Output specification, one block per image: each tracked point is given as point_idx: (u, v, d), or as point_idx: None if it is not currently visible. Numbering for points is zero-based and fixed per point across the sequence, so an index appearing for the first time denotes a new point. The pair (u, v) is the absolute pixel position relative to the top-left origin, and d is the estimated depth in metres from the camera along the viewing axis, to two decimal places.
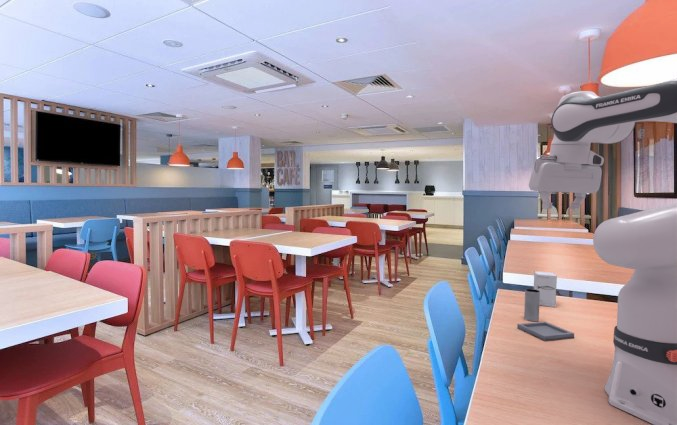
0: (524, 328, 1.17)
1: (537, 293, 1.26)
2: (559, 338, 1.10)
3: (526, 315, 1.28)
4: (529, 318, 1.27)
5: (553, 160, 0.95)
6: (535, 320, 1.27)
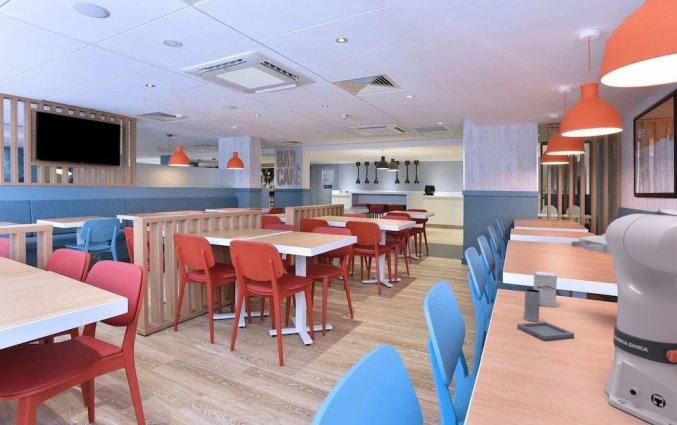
0: (524, 328, 1.17)
1: (537, 293, 1.26)
2: (559, 338, 1.10)
3: (526, 315, 1.28)
4: (529, 318, 1.27)
5: None
6: (535, 320, 1.27)
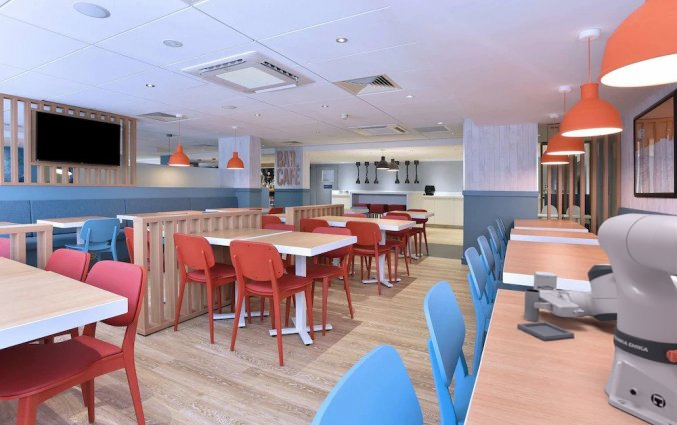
0: (524, 328, 1.17)
1: (537, 293, 1.26)
2: (559, 338, 1.10)
3: (526, 315, 1.28)
4: (529, 318, 1.27)
5: None
6: (535, 320, 1.27)
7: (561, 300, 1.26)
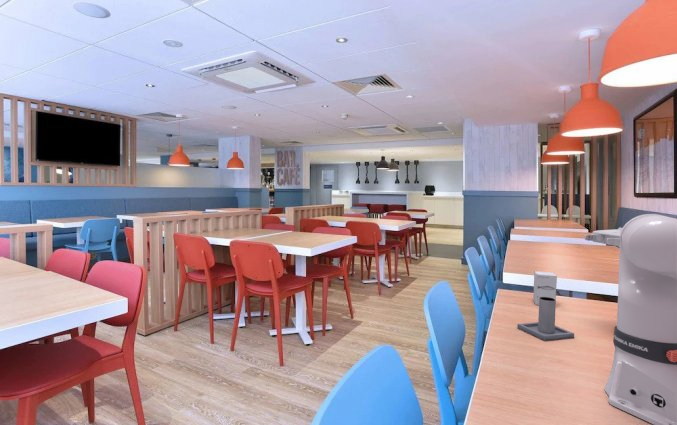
0: (524, 328, 1.17)
1: (553, 302, 1.13)
2: (559, 338, 1.10)
3: (540, 326, 1.15)
4: (544, 330, 1.14)
5: None
6: (551, 332, 1.14)
7: None
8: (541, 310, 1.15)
